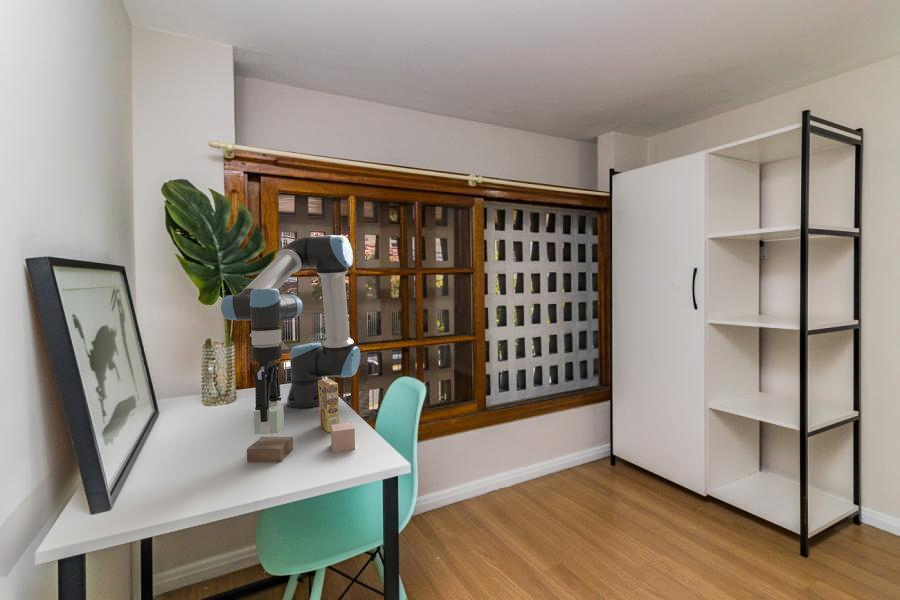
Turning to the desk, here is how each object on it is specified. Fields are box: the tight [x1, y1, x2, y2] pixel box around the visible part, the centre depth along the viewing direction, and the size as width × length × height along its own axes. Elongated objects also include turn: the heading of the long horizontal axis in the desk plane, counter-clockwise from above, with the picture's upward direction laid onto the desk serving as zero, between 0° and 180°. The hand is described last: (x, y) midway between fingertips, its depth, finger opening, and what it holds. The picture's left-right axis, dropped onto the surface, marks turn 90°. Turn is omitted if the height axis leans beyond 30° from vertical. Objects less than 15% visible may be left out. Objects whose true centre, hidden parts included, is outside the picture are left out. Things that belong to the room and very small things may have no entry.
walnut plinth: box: [246, 436, 294, 464], centre depth 123 cm, size 9×9×4 cm
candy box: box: [318, 378, 340, 433], centre depth 144 cm, size 9×4×15 cm, turn 33°
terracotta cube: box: [330, 421, 356, 453], centre depth 128 cm, size 6×6×6 cm
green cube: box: [253, 404, 285, 435], centre depth 122 cm, size 6×6×6 cm
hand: (269, 428), depth 122 cm, fingers closed on green cube, 6 cm apart
